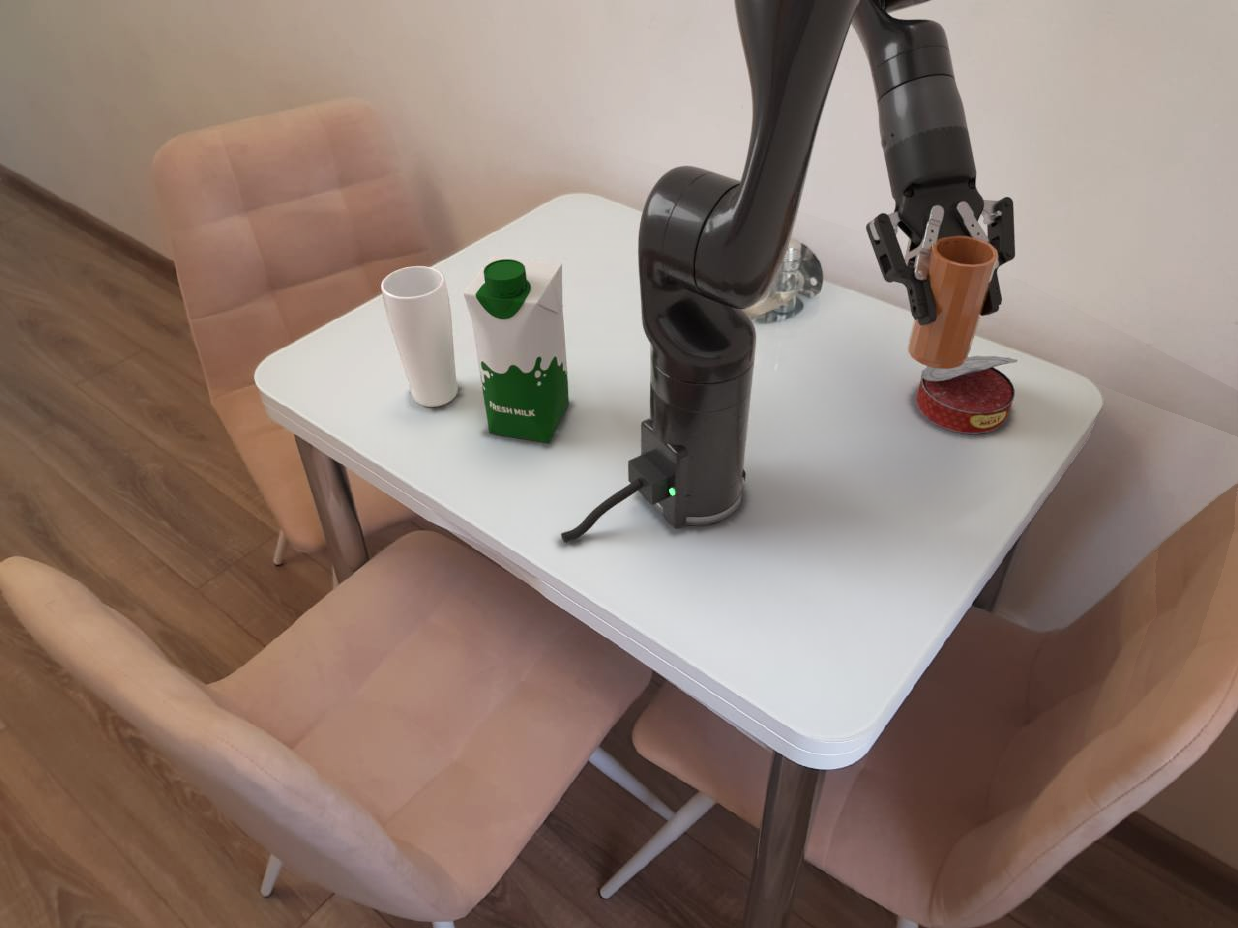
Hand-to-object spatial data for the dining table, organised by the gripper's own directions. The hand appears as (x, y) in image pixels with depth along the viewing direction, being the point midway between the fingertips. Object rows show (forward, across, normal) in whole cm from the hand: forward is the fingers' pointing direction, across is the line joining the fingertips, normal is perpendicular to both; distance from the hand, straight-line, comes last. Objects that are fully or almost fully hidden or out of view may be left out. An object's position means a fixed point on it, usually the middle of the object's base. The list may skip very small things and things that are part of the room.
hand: (959, 317), depth 81 cm
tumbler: (+2, 0, +5) cm, 5 cm away
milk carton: (+1, -39, +24) cm, 46 cm away
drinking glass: (-4, -49, +29) cm, 57 cm away
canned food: (+8, +8, +17) cm, 20 cm away
